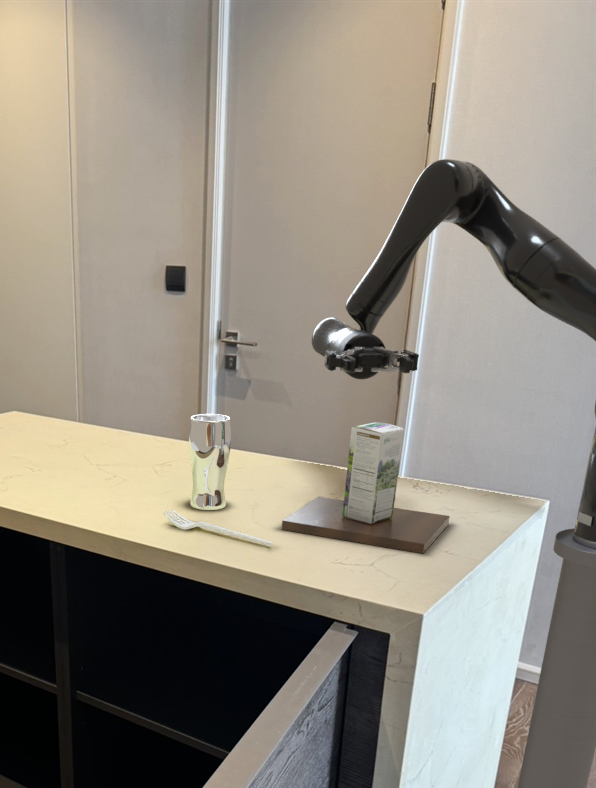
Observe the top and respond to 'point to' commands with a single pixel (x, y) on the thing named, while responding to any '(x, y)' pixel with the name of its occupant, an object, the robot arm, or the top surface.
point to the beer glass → (209, 459)
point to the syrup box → (372, 472)
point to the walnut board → (368, 526)
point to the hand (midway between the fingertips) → (380, 366)
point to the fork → (210, 528)
